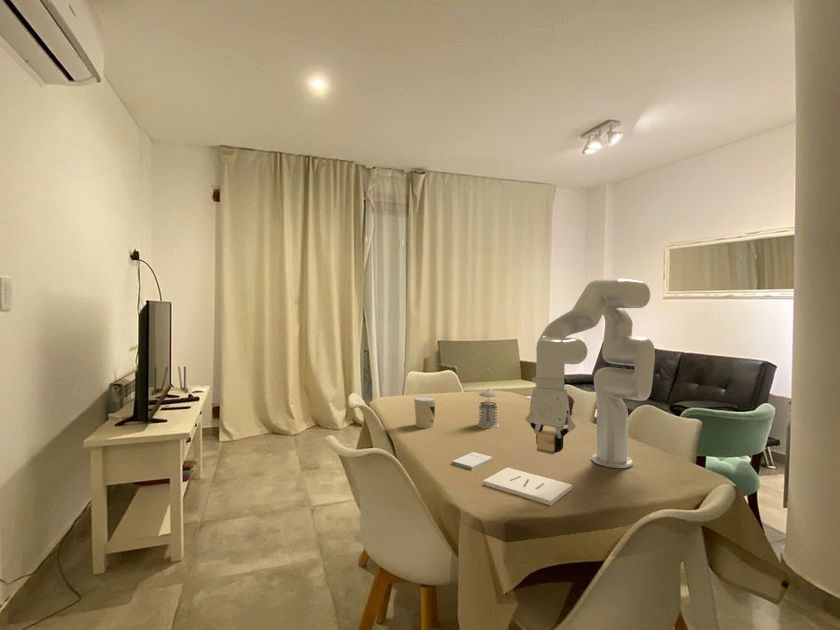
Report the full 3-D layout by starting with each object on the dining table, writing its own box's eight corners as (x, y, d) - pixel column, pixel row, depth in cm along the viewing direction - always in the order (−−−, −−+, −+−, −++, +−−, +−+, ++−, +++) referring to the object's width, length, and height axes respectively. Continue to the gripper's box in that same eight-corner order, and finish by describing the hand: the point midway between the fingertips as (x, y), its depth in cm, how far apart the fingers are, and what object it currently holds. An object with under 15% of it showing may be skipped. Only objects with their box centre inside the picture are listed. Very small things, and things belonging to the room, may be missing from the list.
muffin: (573, 412, 218) (573, 392, 218) (576, 417, 207) (576, 396, 207) (548, 411, 221) (548, 391, 221) (549, 416, 210) (549, 395, 210)
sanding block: (546, 446, 126) (546, 428, 126) (561, 449, 123) (561, 431, 123) (536, 451, 122) (537, 432, 122) (552, 454, 119) (552, 436, 119)
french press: (499, 422, 198) (499, 367, 198) (499, 429, 187) (499, 371, 186) (477, 421, 200) (477, 366, 200) (476, 428, 189) (476, 370, 188)
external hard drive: (451, 465, 146) (472, 455, 156) (471, 471, 141) (492, 461, 150) (451, 460, 146) (472, 451, 156) (471, 466, 141) (492, 456, 150)
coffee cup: (435, 428, 189) (435, 400, 189) (413, 428, 189) (413, 400, 189) (435, 423, 198) (435, 396, 198) (414, 423, 198) (414, 396, 198)
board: (507, 471, 140) (507, 467, 140) (572, 488, 126) (572, 484, 126) (483, 484, 129) (482, 480, 129) (551, 505, 116) (551, 500, 116)
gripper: (516, 381, 125) (515, 446, 125) (574, 389, 114) (574, 459, 114) (528, 378, 131) (527, 440, 131) (585, 385, 120) (584, 452, 120)
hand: (549, 448), depth 123 cm, fingers closed on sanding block, 4 cm apart
